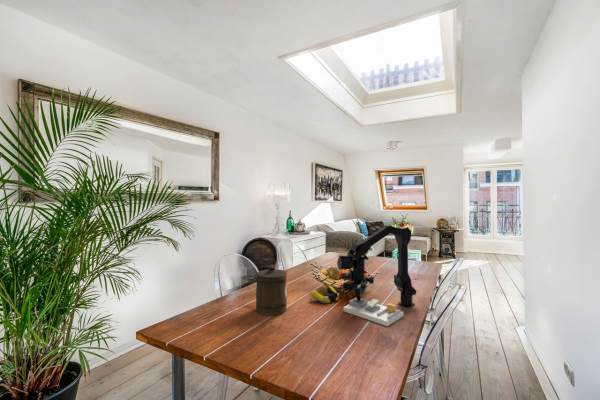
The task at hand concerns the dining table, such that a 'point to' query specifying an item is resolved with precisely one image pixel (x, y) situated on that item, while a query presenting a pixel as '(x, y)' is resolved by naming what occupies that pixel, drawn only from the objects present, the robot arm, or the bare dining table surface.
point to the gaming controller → (327, 298)
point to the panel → (373, 312)
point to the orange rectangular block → (391, 308)
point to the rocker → (372, 303)
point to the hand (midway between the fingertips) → (358, 300)
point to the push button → (358, 301)
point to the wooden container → (271, 291)
